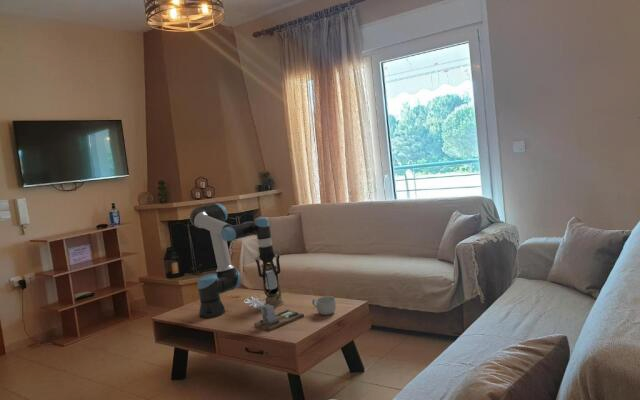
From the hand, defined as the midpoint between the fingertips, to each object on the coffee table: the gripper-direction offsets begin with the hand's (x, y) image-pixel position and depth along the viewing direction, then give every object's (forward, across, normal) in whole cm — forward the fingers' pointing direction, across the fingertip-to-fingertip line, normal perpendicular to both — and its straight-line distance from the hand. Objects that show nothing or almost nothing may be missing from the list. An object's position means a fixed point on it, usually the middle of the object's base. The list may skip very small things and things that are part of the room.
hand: (271, 287), depth 258 cm
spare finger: (0, 0, 0) cm, 0 cm away
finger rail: (+18, -1, +6) cm, 19 cm away
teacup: (+18, -26, +8) cm, 32 cm away
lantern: (+17, -4, -26) cm, 31 cm away
